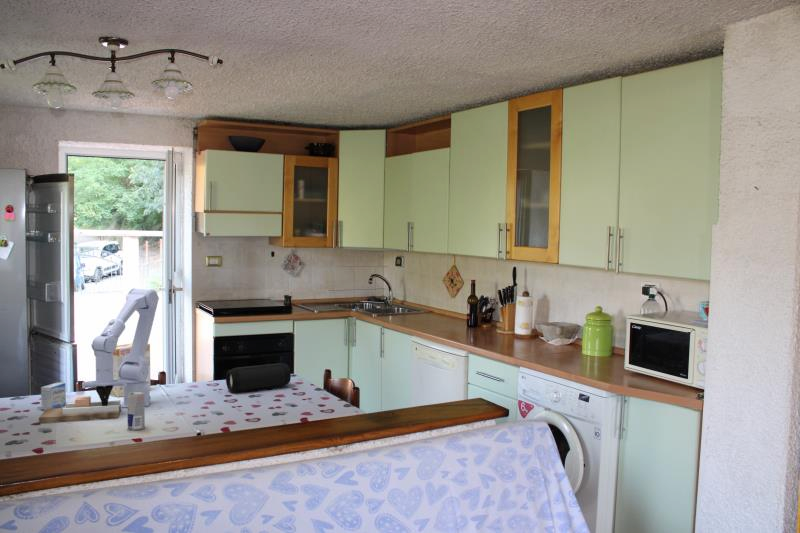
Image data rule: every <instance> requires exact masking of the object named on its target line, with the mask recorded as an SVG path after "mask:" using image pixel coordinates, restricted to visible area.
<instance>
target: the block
mask: <svg viewBox="0 0 800 533" xmlns="http://www.w3.org/2000/svg"><path fill="white" fill-rule="evenodd" d="M91 398H92V397H91V396H89V395H88V396H77V397H76V398H75V400H74V403H75V408H77V407H91V402H92V399H91Z"/></svg>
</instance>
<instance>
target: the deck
mask: <svg viewBox="0 0 800 533" xmlns="http://www.w3.org/2000/svg"><path fill="white" fill-rule="evenodd" d="M63 408H64V407H60V408H49V409H45V410H43V412H42V413H41V414H40V415H39V417H38V424H49V423H51V424H52V423H53V422H54V423H65V422H66V421H69V422H81V421H96V420H95V419H101V420H112V419H113V420H114V419H119V417H120V414H121V411H122V403H120V406H119V411H115V412H99V413H83V414H67V415H63ZM66 423H67V422H66Z"/></svg>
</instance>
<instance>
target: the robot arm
mask: <svg viewBox="0 0 800 533" xmlns="http://www.w3.org/2000/svg"><path fill="white" fill-rule="evenodd" d="M125 296H126V298H125V299H126V301H125V304H123V307H122V308H121V309H120V311H119V313H118V315H117V316H116V318H112V319H111V320H109V321H108V324H107V325H106V326H105V328H104V330H102V332H101V333H100V335H98V336H96V337H94V339H93V341H92V343H91V349H92V350H93V355H94V357H95V380H89V381H83V382H81V386H82V387H81V388H82V389H87V388H88V389H89V388H90V389H91V388H96V389H95V391H96V393H97V395H98V398H99V399H100V401H101V402H102V406H107V404H108V401H109V399H110V396H111V395H110V393H111V391H112V388H113V386H123V391H124V396H123V403H121V409H122V408H124V409H125V408H127V396H128V393H129V392H134V391H142V392H144V404H145V407H150V406H149V405H150V402H151V394H150V391H151V384H150V385H149V381H145V380H146V379H147V377H148V374H149V370H148V367H149V362H148V361H147V360H146V359H145V358H144V357H145V353H146V349H147V345H148V344H149V339H150V336H151V331H152V328H153V323H154V320H155V316H156V311H157V307H158V303H159V301H160V300H159V299H160V297H159V295H158V292H157V291H156V290H154V289H144V288H143V289H141V288H131V289H130V290H129V292H128V294H126V295H125ZM135 312H137V313H138V316H139V317H138V320H137V325H136V327H135V331H134V332H135V333H134V335H133V341H132V343H131V344H132V347H131V351H130V355H129V356H127V357H126V358H124V359H123V362H122V364H121V366H120V368H119V371H118V375H119V377H120V379H122V380H113V351H114V350H115V349H116V347H117V346H118V342H119V338H120V336H121V335H122V334H123V332H124V331H125V329H126V323H127V321H128V320H129V319H130V318H131V317H132V315H133V314H134V313H135ZM137 364H139V365H137Z"/></svg>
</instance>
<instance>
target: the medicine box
mask: <svg viewBox="0 0 800 533" xmlns="http://www.w3.org/2000/svg"><path fill="white" fill-rule="evenodd" d="M66 385H67V384H66V383H65V382H55V383H54V382H53V383H50V384H48V385H44V386H41V387H40V397H41V398H40V400H41V403H40V405H41V410H42V411H45V409H49V408H59V407H60V408H63V407H66V403H67V399H66V398H67V397H66V396H67V395H66V394H67V393H66V392H67V390H66V389H67V388H66ZM62 406H63V407H62Z"/></svg>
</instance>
